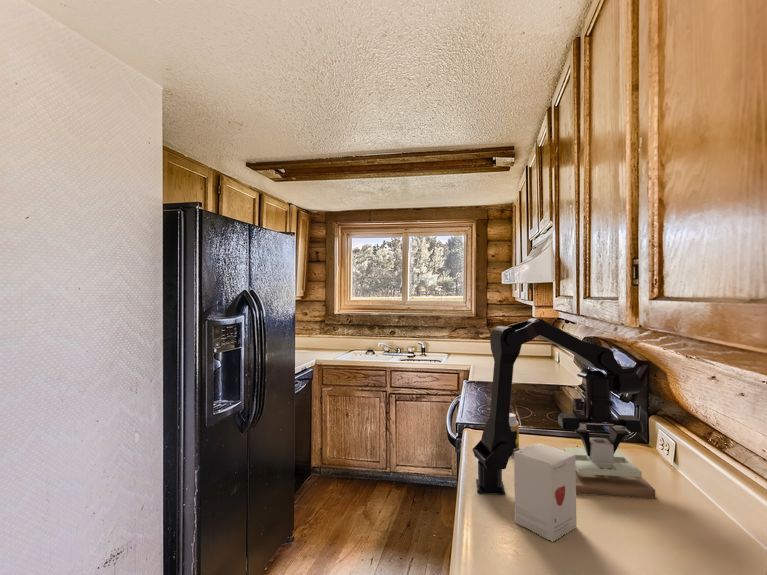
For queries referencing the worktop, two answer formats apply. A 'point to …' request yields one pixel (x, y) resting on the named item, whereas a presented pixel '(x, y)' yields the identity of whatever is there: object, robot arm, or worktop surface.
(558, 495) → the supplement box
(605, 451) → the flange plate
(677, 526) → the worktop surface
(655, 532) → the worktop surface
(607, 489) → the walnut board
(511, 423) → the supplement bottle
